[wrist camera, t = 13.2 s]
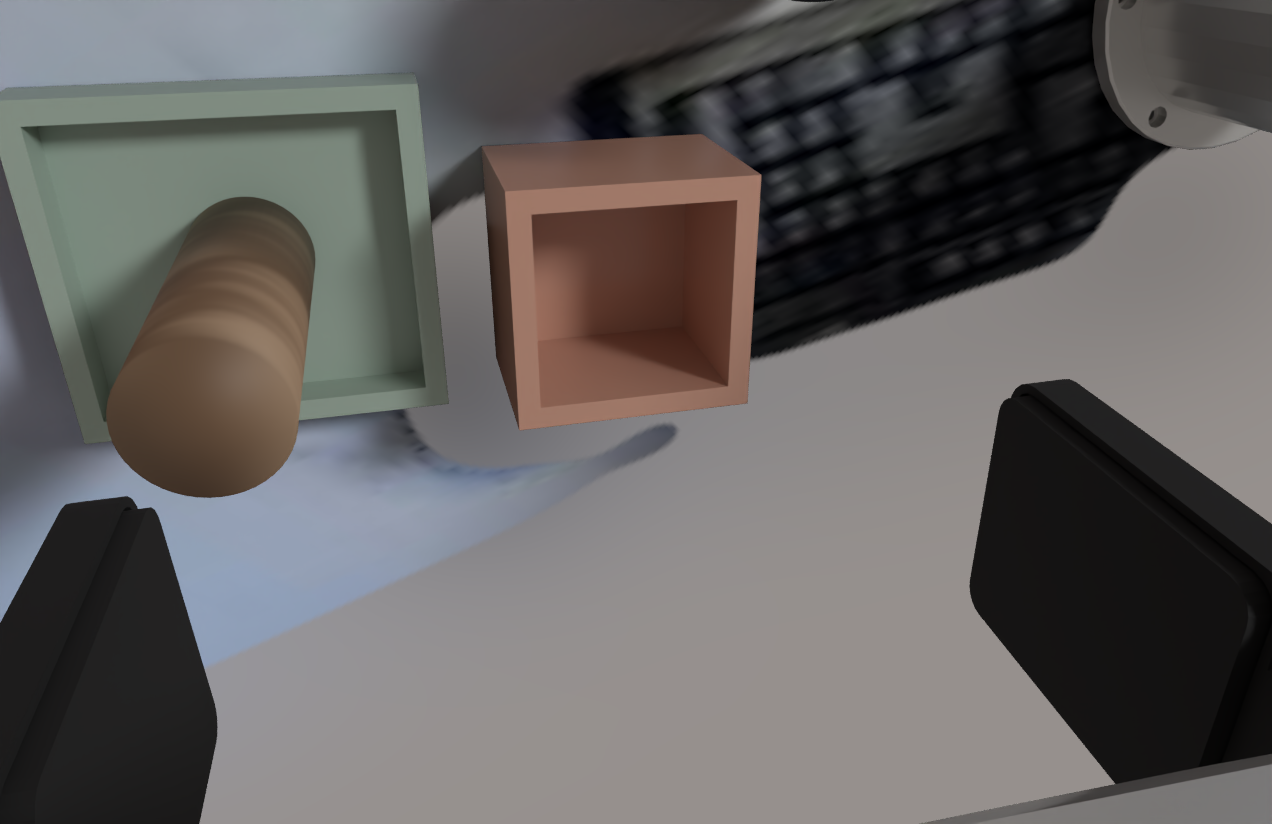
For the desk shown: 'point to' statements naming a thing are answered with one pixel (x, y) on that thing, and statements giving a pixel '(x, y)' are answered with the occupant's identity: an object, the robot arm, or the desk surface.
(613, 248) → the terracotta box
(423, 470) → the desk surface
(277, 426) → the walnut peg
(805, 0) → the ink bottle
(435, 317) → the sage tray
